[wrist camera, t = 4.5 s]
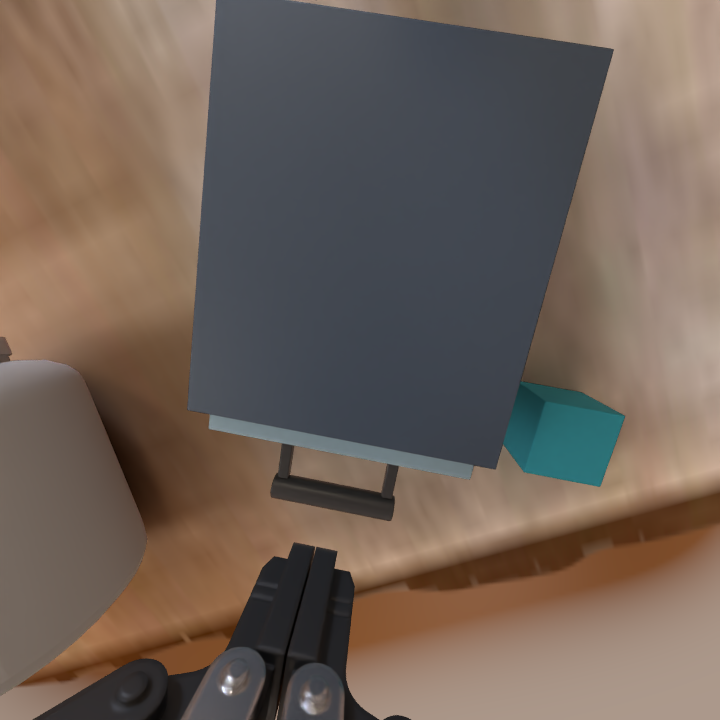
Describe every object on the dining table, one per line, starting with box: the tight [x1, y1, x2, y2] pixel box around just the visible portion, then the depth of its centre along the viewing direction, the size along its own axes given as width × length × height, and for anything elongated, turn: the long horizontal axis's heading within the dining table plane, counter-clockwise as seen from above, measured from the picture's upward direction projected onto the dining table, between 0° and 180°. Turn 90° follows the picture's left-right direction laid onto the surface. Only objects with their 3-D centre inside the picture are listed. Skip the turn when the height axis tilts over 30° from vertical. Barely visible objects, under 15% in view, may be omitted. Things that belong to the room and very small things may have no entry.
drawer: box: [209, 415, 474, 521], centre depth 19 cm, size 20×13×8 cm, turn 170°
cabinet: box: [187, 0, 614, 469], centre depth 19 cm, size 16×14×10 cm
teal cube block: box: [503, 381, 625, 487], centre depth 22 cm, size 4×4×4 cm
